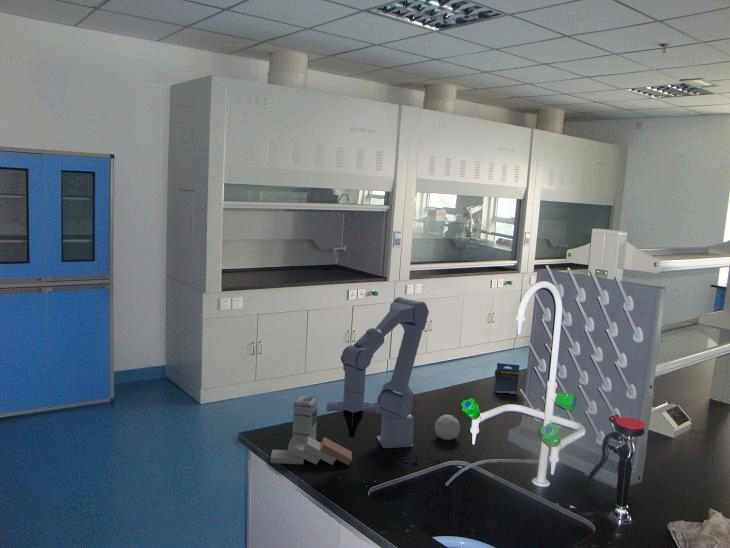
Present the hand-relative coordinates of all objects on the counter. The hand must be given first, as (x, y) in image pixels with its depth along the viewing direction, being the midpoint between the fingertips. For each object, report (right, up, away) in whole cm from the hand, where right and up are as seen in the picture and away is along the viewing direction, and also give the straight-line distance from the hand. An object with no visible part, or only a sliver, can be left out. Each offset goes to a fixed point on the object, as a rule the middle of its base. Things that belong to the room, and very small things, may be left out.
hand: (351, 436), depth 163 cm
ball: (+29, -7, +20) cm, 36 cm away
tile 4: (-13, -6, 0) cm, 15 cm away
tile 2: (-5, -6, 0) cm, 8 cm away
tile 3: (-9, -6, 0) cm, 11 cm away
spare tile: (0, -6, +1) cm, 7 cm away
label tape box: (+59, -2, +68) cm, 90 cm away
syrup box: (-14, -6, +9) cm, 17 cm away
